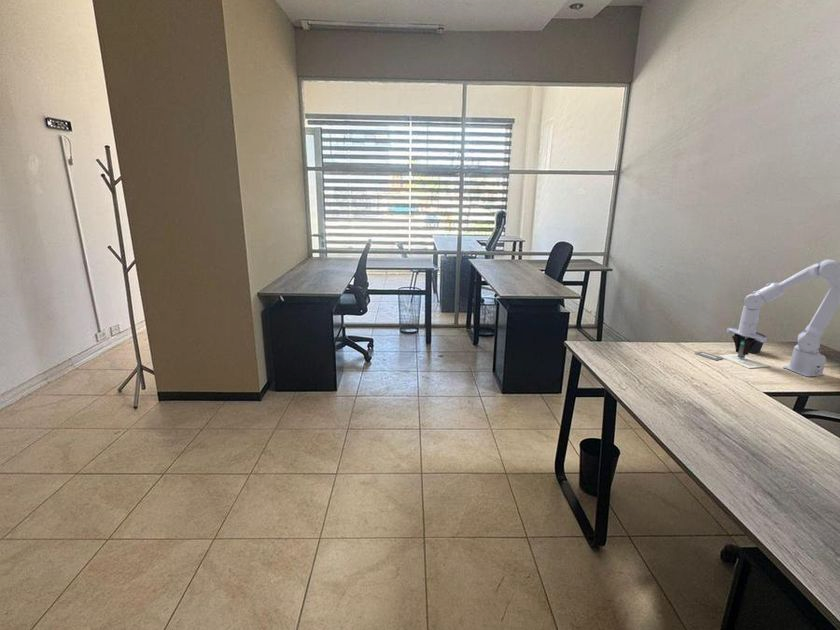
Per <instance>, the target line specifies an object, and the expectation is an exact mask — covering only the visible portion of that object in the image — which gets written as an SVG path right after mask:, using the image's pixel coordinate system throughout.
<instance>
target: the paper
mask: <svg viewBox="0 0 840 630" xmlns="http://www.w3.org/2000/svg"><path fill="white" fill-rule="evenodd" d="M718 357H722V358H723V360H726V361H729V362H731V363H734V364H737V365H739V366H741V367H743V368H745V369H749V370H751V369H761V368H768V367H770V365H768V364H766V363H763V362H761V361H758V360H755V359H752V358H750V357H747V356H745V358H740V357H738V353H731V354H720V355H718Z"/></svg>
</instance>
